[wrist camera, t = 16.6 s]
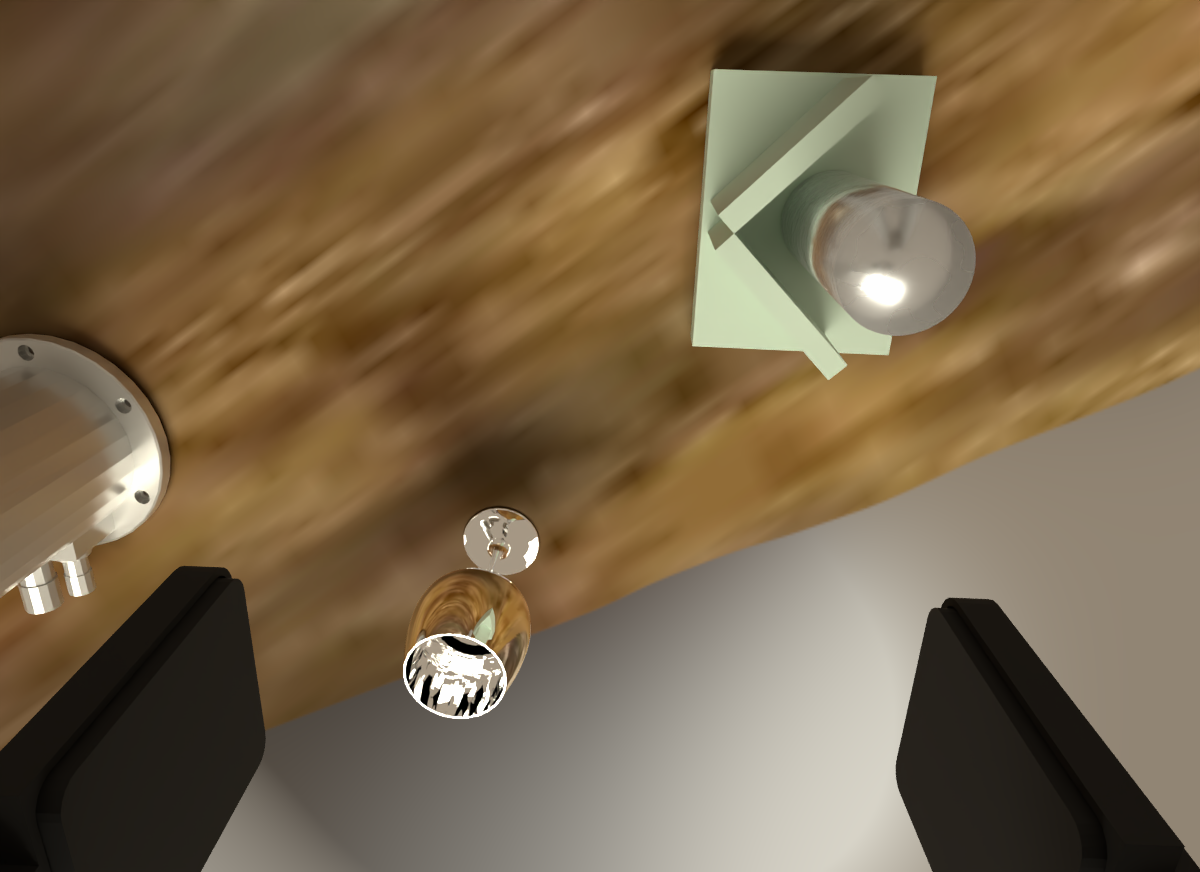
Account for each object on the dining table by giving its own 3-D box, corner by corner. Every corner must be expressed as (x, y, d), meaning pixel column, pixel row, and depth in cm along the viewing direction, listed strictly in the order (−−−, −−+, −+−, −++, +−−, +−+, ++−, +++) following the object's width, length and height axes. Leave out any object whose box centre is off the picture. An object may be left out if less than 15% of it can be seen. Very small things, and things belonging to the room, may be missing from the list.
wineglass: (570, 537, 47) (545, 673, 36) (511, 601, 49) (469, 748, 38) (490, 478, 46) (438, 599, 35) (433, 545, 48) (366, 681, 37)
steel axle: (886, 172, 36) (989, 201, 25) (870, 271, 38) (959, 339, 27) (787, 168, 37) (846, 195, 25) (775, 266, 38) (826, 331, 27)
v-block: (690, 335, 42) (697, 378, 35) (710, 70, 37) (722, 64, 31) (877, 343, 41) (919, 388, 35) (922, 77, 37) (980, 72, 30)
